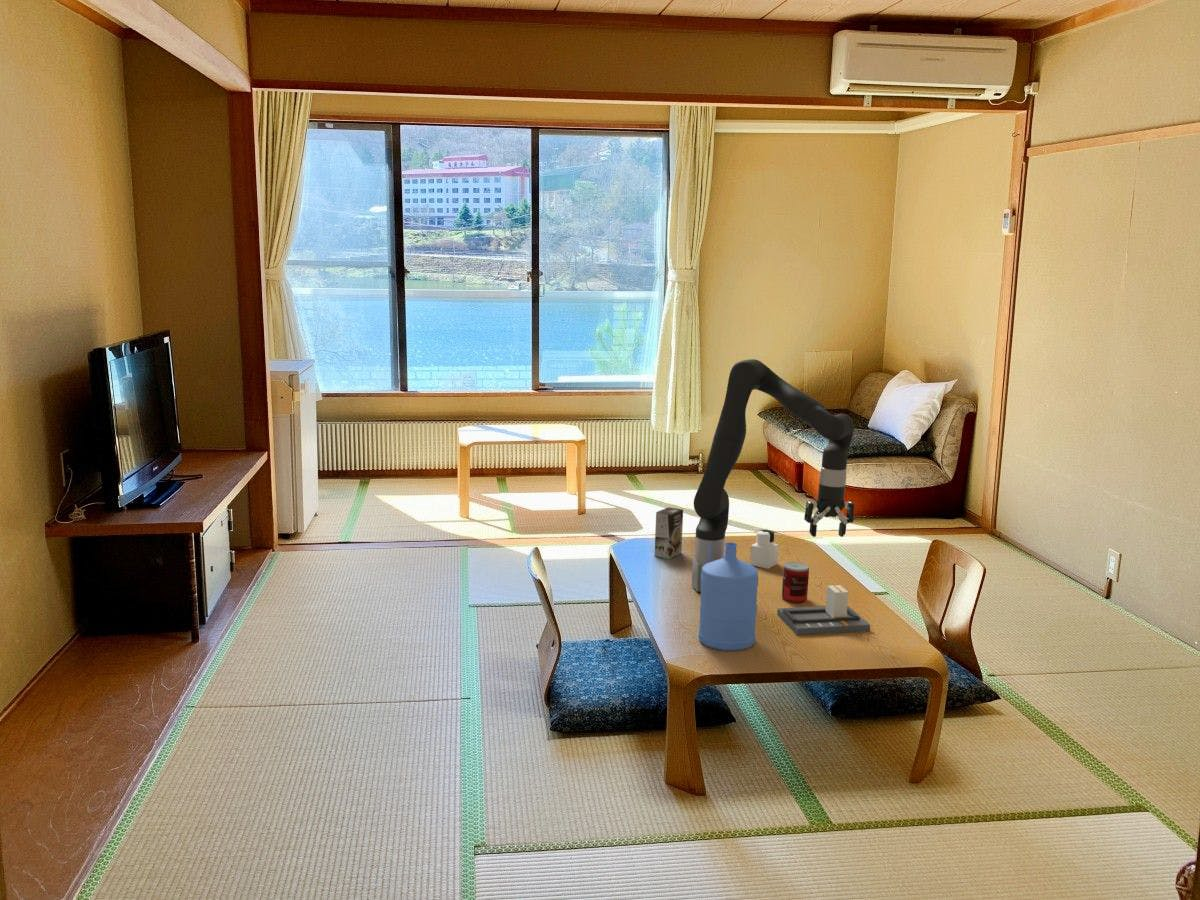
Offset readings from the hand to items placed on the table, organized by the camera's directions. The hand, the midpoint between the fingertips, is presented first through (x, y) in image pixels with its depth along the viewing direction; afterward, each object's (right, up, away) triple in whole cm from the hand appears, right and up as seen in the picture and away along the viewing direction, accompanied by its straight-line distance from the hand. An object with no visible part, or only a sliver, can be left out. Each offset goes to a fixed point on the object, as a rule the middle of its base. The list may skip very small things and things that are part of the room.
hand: (827, 536), depth 296 cm
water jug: (-32, -28, -16) cm, 45 cm away
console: (-2, -25, -1) cm, 25 cm away
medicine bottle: (-10, -14, +51) cm, 54 cm away
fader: (+2, -23, -1) cm, 23 cm away
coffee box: (-43, -12, +60) cm, 75 cm away
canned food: (-6, -21, +18) cm, 29 cm away
